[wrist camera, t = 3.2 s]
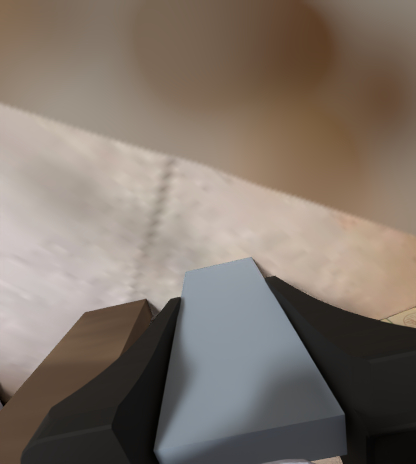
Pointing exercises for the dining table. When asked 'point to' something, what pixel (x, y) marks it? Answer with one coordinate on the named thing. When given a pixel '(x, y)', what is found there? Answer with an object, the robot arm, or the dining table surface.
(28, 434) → the domino
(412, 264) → the dining table surface
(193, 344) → the domino
